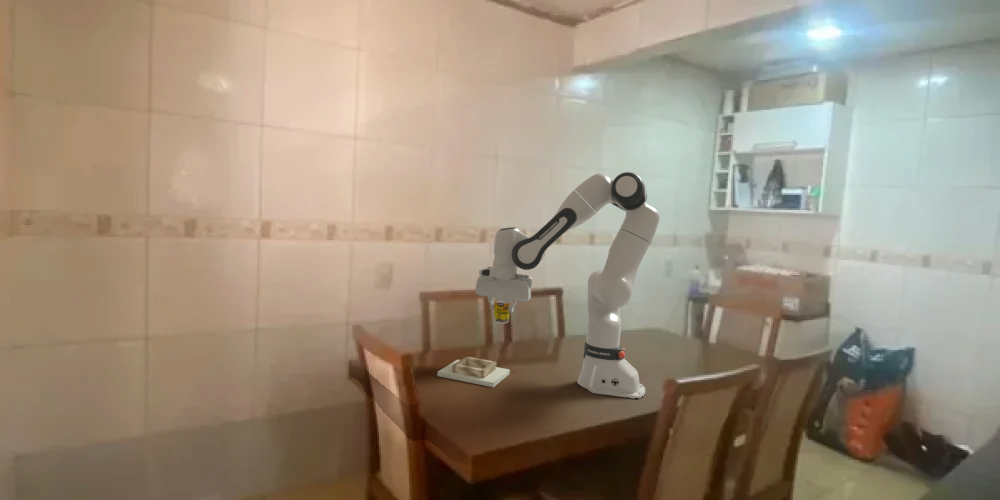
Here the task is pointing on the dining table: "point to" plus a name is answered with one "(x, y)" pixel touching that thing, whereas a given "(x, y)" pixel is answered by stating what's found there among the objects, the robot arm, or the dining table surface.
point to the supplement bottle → (501, 310)
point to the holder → (475, 371)
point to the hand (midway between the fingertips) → (501, 310)
